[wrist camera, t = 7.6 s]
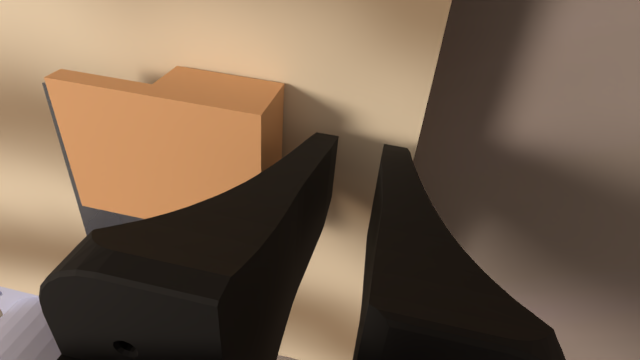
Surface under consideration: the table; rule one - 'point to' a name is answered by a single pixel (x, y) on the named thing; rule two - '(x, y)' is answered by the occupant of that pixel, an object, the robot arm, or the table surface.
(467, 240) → the table surface
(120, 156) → the manila folder slab
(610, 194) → the table surface
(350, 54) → the board
